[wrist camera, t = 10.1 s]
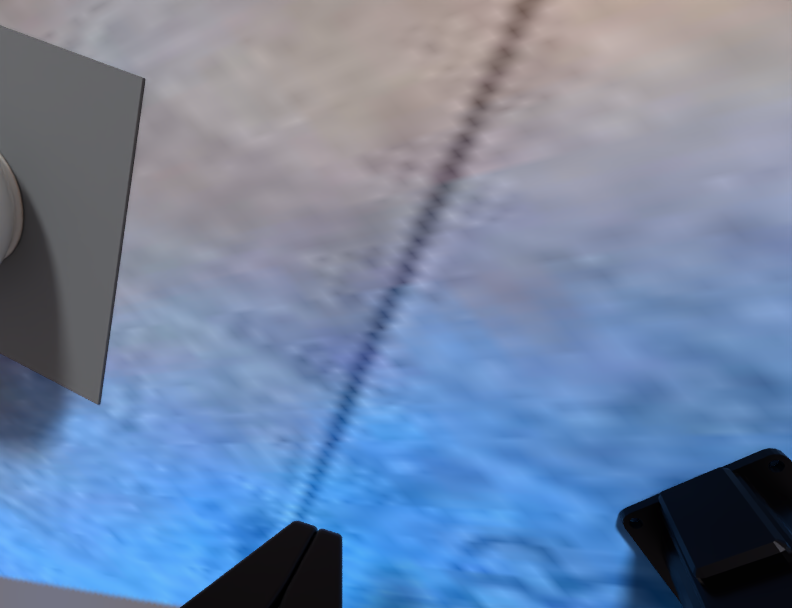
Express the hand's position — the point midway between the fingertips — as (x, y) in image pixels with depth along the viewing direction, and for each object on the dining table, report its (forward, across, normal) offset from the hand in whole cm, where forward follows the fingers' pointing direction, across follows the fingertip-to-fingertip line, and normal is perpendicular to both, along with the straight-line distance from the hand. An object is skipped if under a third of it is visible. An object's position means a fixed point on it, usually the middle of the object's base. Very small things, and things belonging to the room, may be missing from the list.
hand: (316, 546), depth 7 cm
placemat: (+14, +25, 0) cm, 29 cm away
